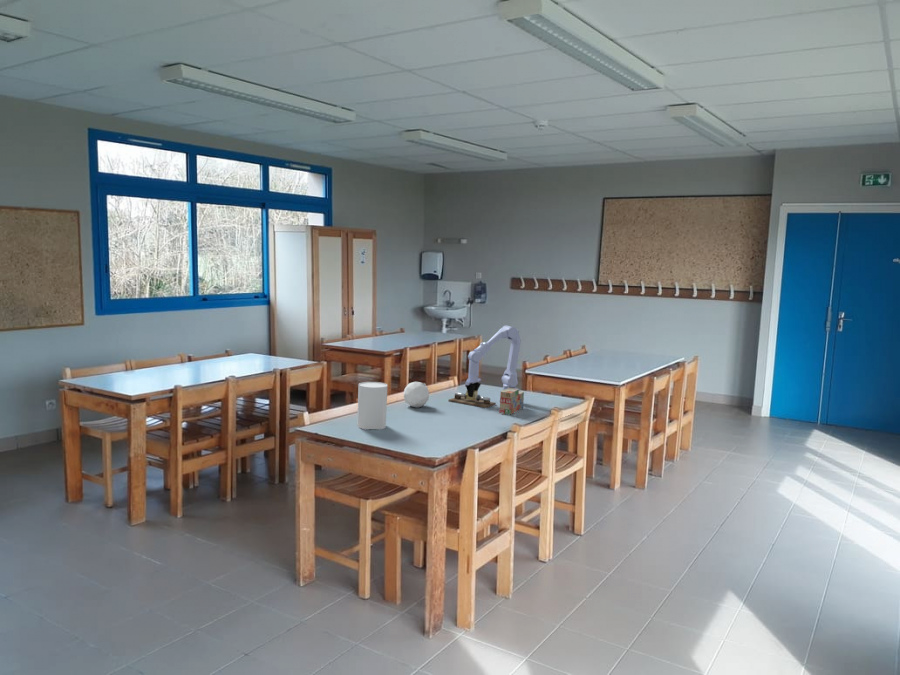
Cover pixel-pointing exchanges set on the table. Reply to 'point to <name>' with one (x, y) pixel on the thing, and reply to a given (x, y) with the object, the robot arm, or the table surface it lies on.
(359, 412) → the canister
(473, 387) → the robot arm
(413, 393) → the geodesic sphere
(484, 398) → the shafts
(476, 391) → the wooden block
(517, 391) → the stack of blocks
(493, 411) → the table surface
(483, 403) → the shaft bench
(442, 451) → the table surface
